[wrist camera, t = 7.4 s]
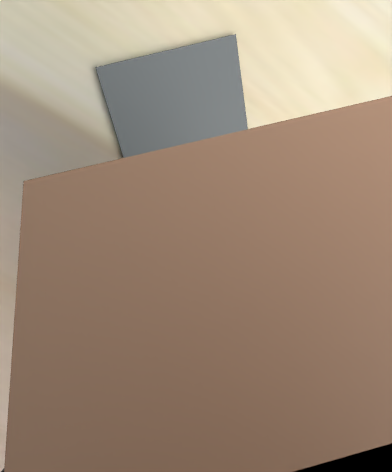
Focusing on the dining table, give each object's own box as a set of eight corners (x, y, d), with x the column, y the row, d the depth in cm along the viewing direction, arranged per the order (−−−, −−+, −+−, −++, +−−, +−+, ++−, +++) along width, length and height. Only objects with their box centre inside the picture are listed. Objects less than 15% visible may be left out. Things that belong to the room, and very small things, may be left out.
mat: (263, 258, 23) (264, 260, 23) (162, 281, 23) (162, 283, 23) (234, 35, 17) (235, 34, 16) (96, 68, 17) (95, 67, 16)
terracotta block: (290, 380, 14) (940, 794, 1) (200, 399, 14) (-28, 952, 1) (263, 290, 16) (420, 88, 3) (184, 307, 16) (23, 181, 3)
